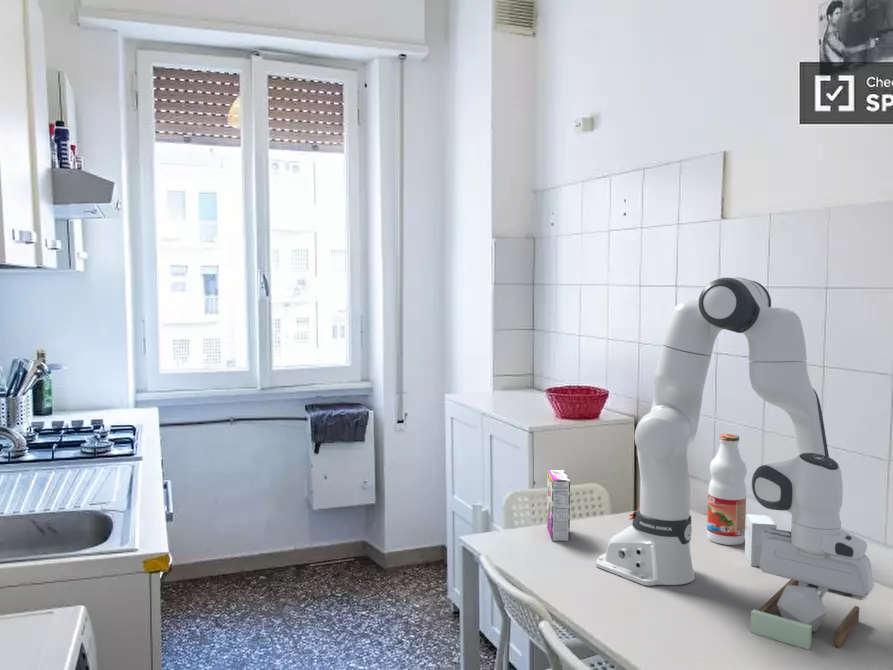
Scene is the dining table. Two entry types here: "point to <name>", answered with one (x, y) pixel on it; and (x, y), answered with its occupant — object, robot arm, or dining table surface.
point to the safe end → (781, 629)
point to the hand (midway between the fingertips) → (812, 604)
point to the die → (802, 605)
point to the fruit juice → (727, 494)
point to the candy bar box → (558, 505)
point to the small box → (755, 536)
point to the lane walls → (841, 631)
